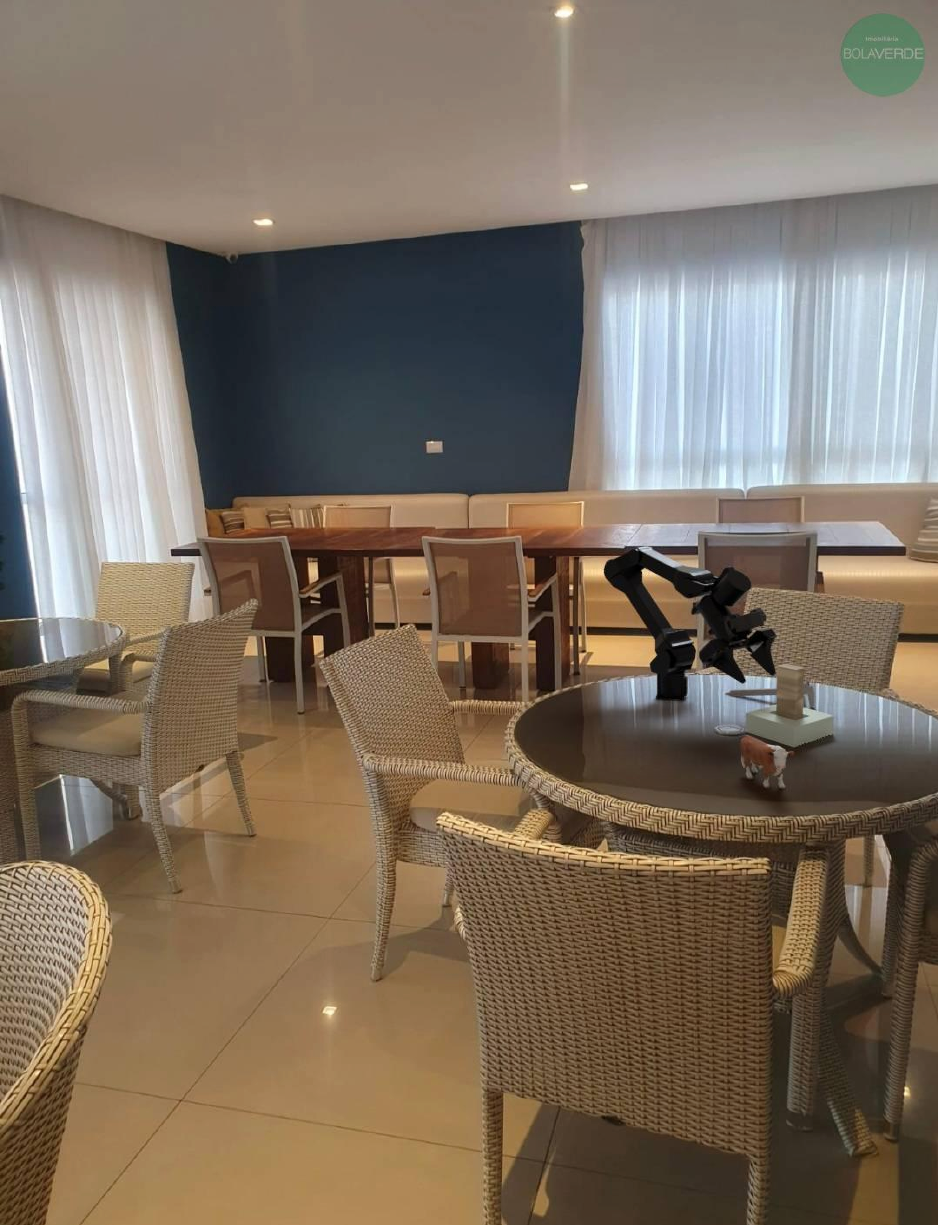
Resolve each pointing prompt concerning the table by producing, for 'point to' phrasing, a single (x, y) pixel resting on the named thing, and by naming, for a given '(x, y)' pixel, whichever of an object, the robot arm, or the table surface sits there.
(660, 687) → the robot arm
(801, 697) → the slat
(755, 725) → the end cap
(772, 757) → the bull figurine
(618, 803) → the table surface
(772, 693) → the caliper
